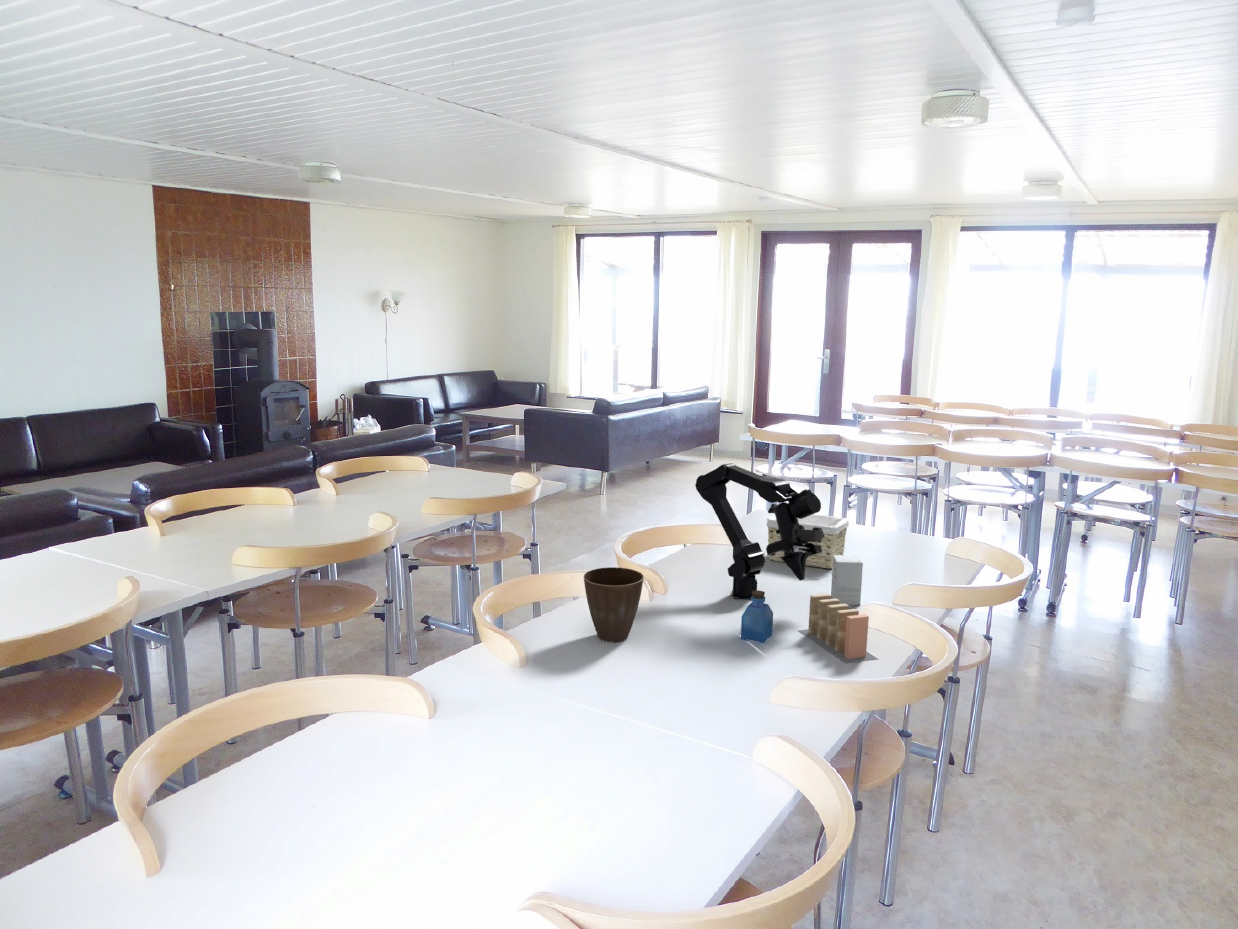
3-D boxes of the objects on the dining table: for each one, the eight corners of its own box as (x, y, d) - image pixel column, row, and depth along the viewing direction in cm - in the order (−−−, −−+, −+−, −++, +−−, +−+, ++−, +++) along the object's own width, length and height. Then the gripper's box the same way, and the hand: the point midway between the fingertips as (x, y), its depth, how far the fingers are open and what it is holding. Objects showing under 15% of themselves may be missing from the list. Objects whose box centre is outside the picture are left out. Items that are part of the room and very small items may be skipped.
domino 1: (808, 632, 217) (810, 595, 215) (825, 630, 218) (827, 593, 217) (811, 634, 215) (813, 597, 214) (828, 632, 217) (830, 595, 215)
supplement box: (855, 597, 246) (858, 555, 244) (860, 605, 239) (863, 562, 237) (830, 596, 247) (832, 554, 245) (834, 604, 240) (836, 561, 238)
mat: (797, 631, 218) (797, 630, 218) (827, 628, 221) (827, 627, 221) (845, 664, 198) (846, 663, 198) (878, 660, 201) (878, 659, 201)
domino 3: (825, 644, 209) (827, 605, 208) (843, 642, 211) (845, 603, 209) (829, 646, 208) (831, 607, 206) (846, 644, 209) (849, 605, 208)
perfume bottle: (740, 639, 212) (742, 593, 210) (748, 631, 218) (750, 587, 216) (764, 644, 210) (766, 597, 207) (772, 636, 215) (774, 591, 213)
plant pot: (636, 651, 204) (637, 587, 201) (576, 645, 207) (577, 582, 204) (646, 629, 218) (648, 569, 215) (590, 624, 221) (591, 565, 218)
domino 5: (844, 656, 202) (846, 616, 200) (861, 653, 203) (864, 614, 202) (848, 658, 200) (850, 618, 199) (865, 656, 202) (868, 616, 200)
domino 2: (816, 638, 213) (819, 600, 211) (833, 636, 215) (836, 598, 213) (820, 640, 212) (822, 602, 210) (837, 638, 213) (839, 600, 211)
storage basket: (763, 560, 283) (765, 517, 281) (779, 549, 297) (782, 508, 295) (833, 572, 271) (836, 527, 269) (847, 560, 285) (850, 517, 283)
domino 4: (834, 650, 206) (837, 610, 204) (852, 647, 207) (854, 608, 205) (838, 652, 204) (840, 613, 202) (856, 650, 206) (858, 611, 204)
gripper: (793, 512, 219) (808, 571, 214) (831, 517, 232) (845, 573, 227) (759, 525, 226) (772, 582, 221) (797, 529, 239) (810, 583, 234)
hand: (801, 580), depth 226 cm, fingers closed
